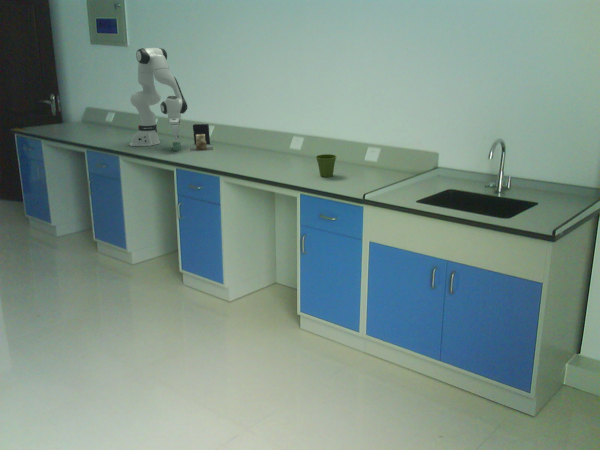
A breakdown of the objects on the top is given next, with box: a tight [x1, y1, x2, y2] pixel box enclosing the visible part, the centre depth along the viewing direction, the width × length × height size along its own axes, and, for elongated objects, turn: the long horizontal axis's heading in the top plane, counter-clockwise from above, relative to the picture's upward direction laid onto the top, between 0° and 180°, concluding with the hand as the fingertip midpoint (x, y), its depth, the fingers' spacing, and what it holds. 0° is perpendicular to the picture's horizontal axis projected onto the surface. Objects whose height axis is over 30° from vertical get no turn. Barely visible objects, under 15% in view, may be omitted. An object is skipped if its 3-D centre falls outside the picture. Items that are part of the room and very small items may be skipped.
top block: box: [196, 134, 205, 143], centre depth 421 cm, size 6×6×5 cm
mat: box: [189, 146, 214, 152], centre depth 424 cm, size 16×12×1 cm
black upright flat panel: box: [192, 123, 211, 146], centre depth 440 cm, size 11×4×15 cm, turn 84°
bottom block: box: [195, 141, 208, 150], centre depth 423 cm, size 7×7×5 cm
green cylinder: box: [172, 141, 182, 152], centre depth 421 cm, size 6×6×6 cm
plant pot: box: [315, 153, 337, 178], centre depth 340 cm, size 12×12×11 cm
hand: (177, 140), depth 419 cm, fingers open, 8 cm apart
